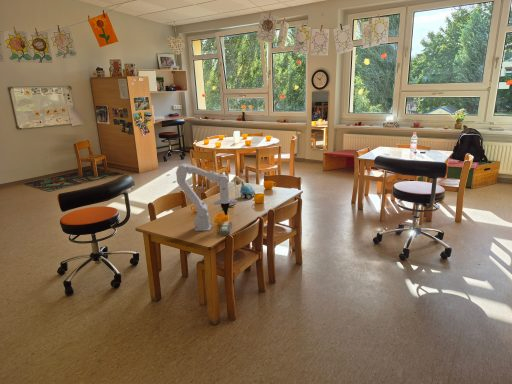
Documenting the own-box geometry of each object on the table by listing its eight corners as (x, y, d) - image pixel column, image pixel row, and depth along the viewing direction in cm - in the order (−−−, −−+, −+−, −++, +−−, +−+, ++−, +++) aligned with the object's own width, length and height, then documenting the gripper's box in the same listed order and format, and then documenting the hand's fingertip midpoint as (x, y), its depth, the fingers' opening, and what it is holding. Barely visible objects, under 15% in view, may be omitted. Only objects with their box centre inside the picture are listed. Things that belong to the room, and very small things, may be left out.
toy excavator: (238, 194, 288) (237, 174, 283) (256, 196, 281) (255, 175, 275) (233, 197, 280) (231, 177, 275) (251, 199, 273) (250, 178, 268)
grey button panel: (219, 235, 211) (219, 231, 210) (222, 225, 225) (222, 221, 225) (229, 235, 210) (229, 231, 210) (232, 225, 225) (231, 221, 224)
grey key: (223, 228, 216) (223, 225, 215) (223, 226, 219) (223, 223, 218) (228, 228, 216) (227, 225, 215) (228, 226, 219) (228, 223, 218)
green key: (222, 232, 211) (221, 228, 210) (222, 230, 214) (222, 226, 213) (227, 232, 211) (226, 228, 210) (227, 230, 213) (227, 226, 213)
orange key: (224, 226, 222) (224, 223, 221) (225, 224, 224) (224, 221, 224) (229, 226, 221) (228, 223, 221) (229, 224, 224) (229, 221, 224)
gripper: (236, 191, 220) (238, 211, 224) (213, 192, 221) (215, 212, 225) (235, 195, 213) (237, 215, 217) (212, 196, 214) (214, 216, 218)
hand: (226, 214), depth 220 cm, fingers closed
